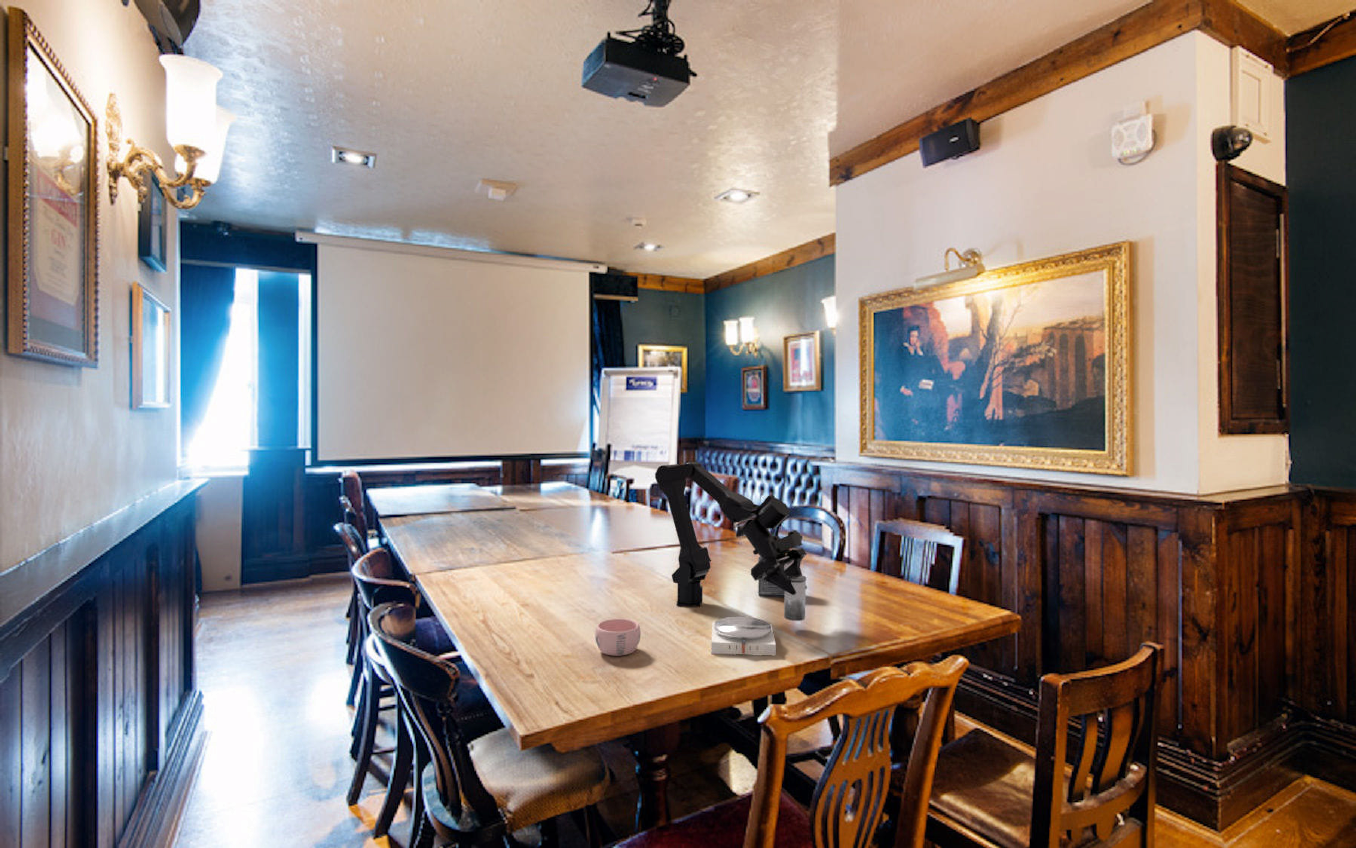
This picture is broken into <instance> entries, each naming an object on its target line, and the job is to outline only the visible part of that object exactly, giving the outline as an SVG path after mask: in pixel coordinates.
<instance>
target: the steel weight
mask: <svg viewBox="0 0 1356 848" xmlns="http://www.w3.org/2000/svg"><path fill="white" fill-rule="evenodd" d="M786 576H787V577H788V579H789V580H790V582H791V584H792V585H793V587H794V589H795V591H796V594H794V595H792V594H790V593H788V592H786V591H785V597H784V610H783V612H784V614H783V615H784V618H785V619H786V620H788V621H794V622H799V621H800V622H802V621H805V619H806V593H807V592H806V590H807V589H806V586H807V584H806V582H807V576H805V575H803V574H802V575H797V574H789V575H786Z"/></svg>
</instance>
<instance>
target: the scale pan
mask: <svg viewBox="0 0 1356 848" xmlns="http://www.w3.org/2000/svg"><path fill="white" fill-rule="evenodd" d="M714 622H715V624H714V629H715V631H716V632H718V633H719V634H721V635H724V636H727V637H732V638H740V639H742V653H745V639H753V638H760V637H764V636H767V635H768V634H770V633H771V626H772V624H771V623H769V622H768V621H766V620H763V619H760V618H756V617H752V616H751V617H750V616H729V617H728V616H727V617H723V618H720V619H717V620H716V621H714ZM770 624H771V625H770Z"/></svg>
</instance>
